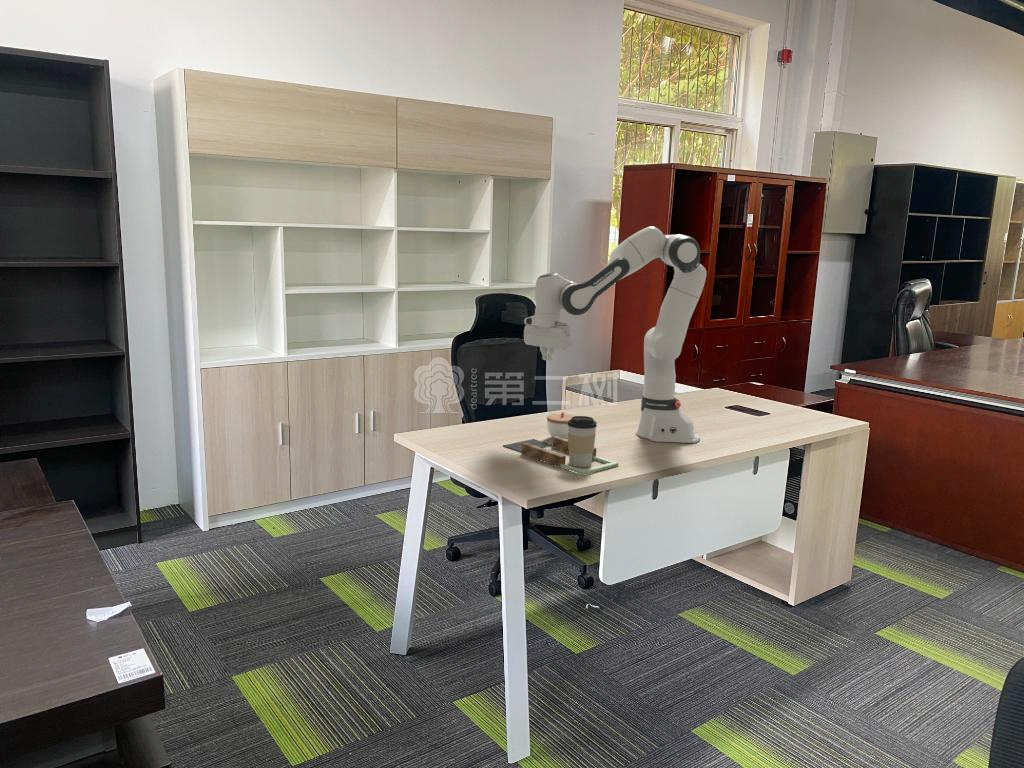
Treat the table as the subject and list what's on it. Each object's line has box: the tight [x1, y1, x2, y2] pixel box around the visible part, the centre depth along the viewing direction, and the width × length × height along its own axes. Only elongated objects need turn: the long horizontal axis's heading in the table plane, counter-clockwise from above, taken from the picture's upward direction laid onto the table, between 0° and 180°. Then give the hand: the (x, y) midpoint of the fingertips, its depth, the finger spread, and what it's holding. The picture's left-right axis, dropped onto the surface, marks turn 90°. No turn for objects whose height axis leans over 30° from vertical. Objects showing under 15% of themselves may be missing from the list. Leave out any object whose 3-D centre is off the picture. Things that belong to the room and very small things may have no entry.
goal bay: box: [561, 455, 619, 476], centre depth 232 cm, size 10×16×1 cm, turn 131°
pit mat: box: [502, 438, 552, 453], centre depth 253 cm, size 9×14×1 cm, turn 131°
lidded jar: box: [546, 411, 576, 439], centre depth 263 cm, size 11×11×9 cm
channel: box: [521, 436, 597, 468], centre depth 242 cm, size 18×16×4 cm
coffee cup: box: [568, 415, 598, 467], centre depth 234 cm, size 9×9×15 cm
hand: (547, 360), depth 261 cm, fingers closed
